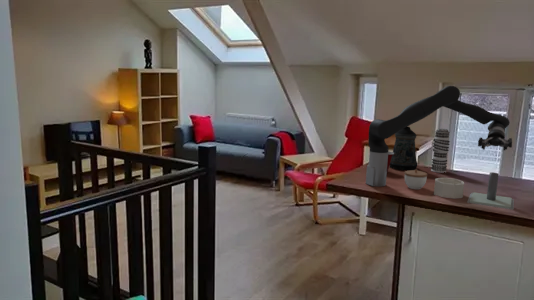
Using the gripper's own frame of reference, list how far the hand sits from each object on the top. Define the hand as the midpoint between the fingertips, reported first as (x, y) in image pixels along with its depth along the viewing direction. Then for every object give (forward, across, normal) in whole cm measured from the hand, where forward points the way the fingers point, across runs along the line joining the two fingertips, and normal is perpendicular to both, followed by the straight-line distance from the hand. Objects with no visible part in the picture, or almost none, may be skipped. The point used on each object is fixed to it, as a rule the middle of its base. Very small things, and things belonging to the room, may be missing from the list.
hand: (494, 148), depth 198 cm
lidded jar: (+10, -34, +19) cm, 41 cm away
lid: (+15, 0, +20) cm, 25 cm away
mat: (+15, 0, +20) cm, 25 cm away
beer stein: (-34, -52, +28) cm, 68 cm away
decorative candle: (-36, -31, +30) cm, 56 cm away
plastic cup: (-16, -58, +24) cm, 65 cm away
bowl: (+15, -18, +19) cm, 30 cm away
